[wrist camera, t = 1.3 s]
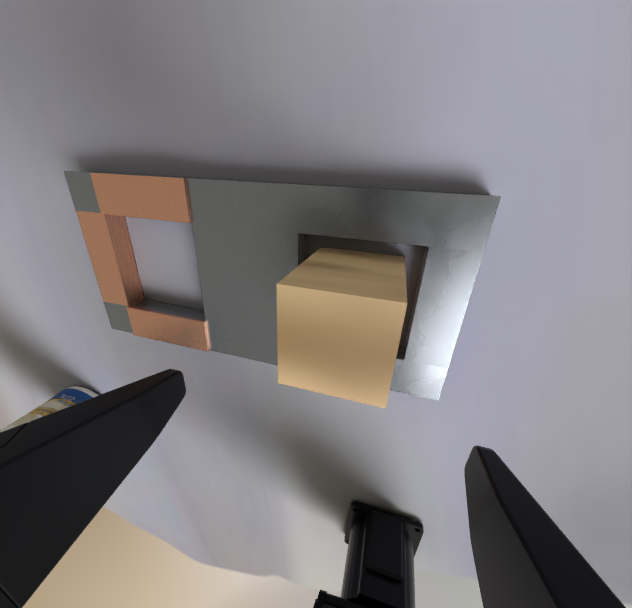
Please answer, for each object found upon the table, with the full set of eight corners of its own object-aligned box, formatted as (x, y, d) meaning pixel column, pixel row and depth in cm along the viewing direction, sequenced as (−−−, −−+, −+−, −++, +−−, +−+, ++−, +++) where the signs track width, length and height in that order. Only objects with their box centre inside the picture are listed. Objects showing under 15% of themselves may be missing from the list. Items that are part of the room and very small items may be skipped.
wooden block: (390, 330, 18) (385, 408, 12) (317, 318, 19) (277, 382, 13) (404, 256, 16) (407, 303, 10) (321, 247, 17) (276, 284, 11)
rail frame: (435, 385, 19) (438, 403, 17) (127, 320, 24) (109, 329, 23) (490, 195, 14) (502, 196, 12) (86, 171, 19) (60, 171, 18)
